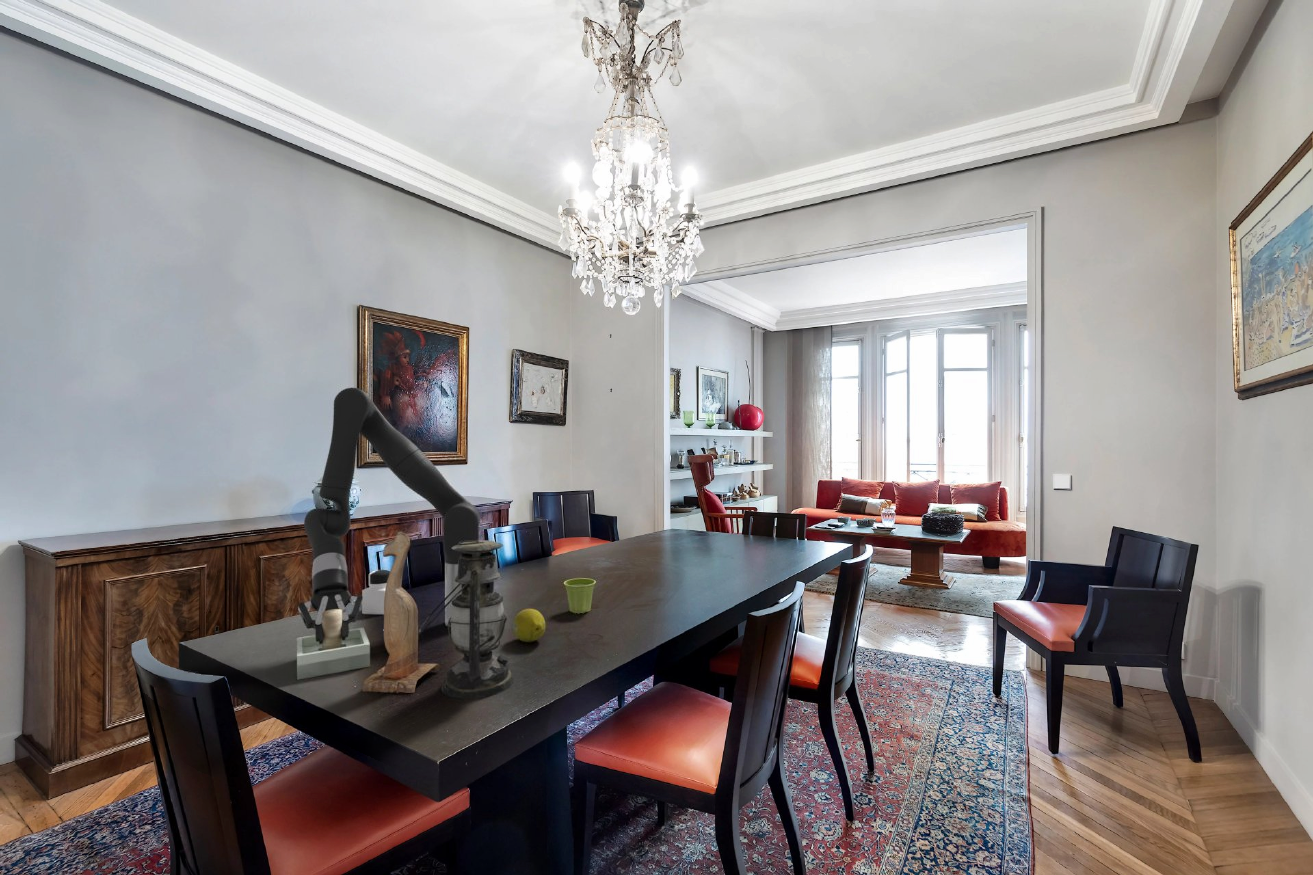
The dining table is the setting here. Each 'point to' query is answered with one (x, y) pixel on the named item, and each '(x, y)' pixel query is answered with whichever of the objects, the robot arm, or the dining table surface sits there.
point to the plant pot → (579, 594)
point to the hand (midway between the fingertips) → (332, 639)
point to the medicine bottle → (375, 592)
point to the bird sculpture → (399, 630)
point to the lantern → (476, 625)
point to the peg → (332, 629)
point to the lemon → (529, 625)
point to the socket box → (332, 655)
